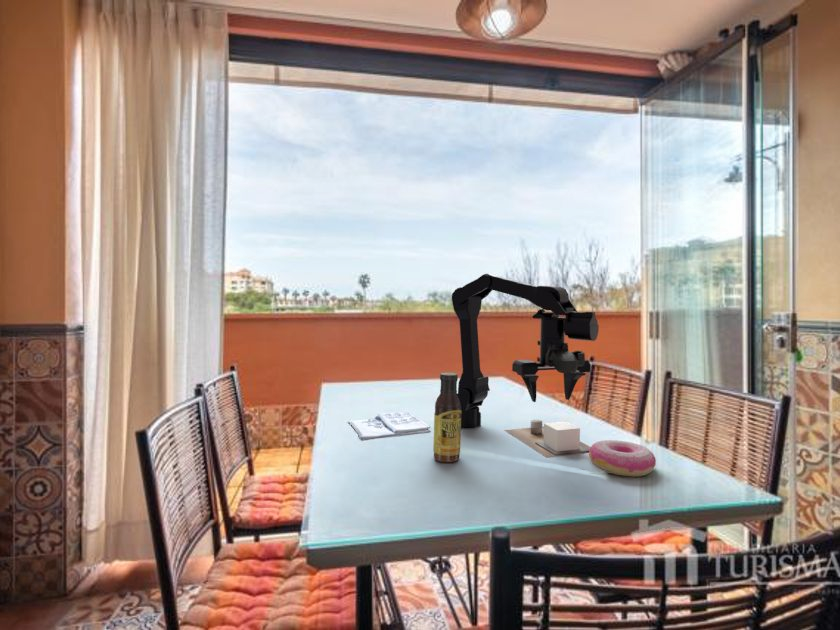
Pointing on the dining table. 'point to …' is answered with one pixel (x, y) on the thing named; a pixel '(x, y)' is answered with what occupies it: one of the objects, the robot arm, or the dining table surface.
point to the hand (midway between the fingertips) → (550, 400)
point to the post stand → (542, 440)
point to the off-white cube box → (561, 436)
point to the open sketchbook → (389, 425)
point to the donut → (622, 458)
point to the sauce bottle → (447, 420)
